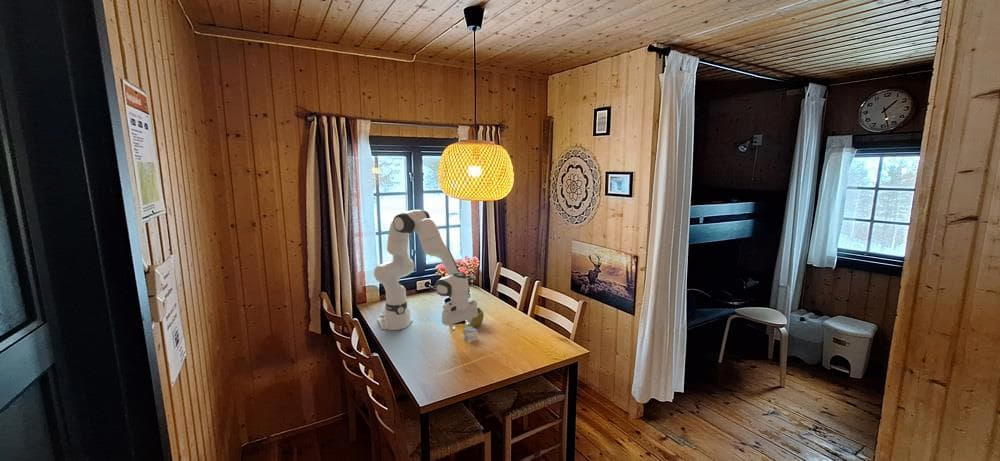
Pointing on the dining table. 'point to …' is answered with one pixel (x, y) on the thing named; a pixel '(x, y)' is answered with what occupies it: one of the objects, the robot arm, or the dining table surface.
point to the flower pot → (477, 319)
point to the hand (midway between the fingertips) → (460, 328)
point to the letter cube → (470, 334)
